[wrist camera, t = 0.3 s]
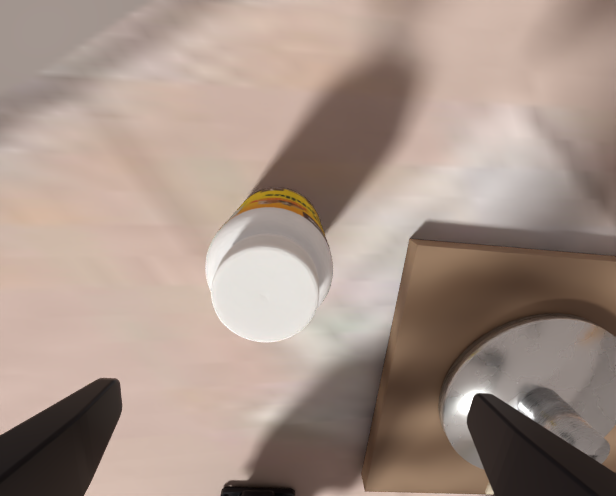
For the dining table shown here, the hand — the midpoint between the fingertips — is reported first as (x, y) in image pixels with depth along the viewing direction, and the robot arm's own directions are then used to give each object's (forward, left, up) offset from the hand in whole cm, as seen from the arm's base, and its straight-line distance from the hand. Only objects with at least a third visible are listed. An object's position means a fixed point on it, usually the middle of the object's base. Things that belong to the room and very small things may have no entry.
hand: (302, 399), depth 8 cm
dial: (-12, -19, -12) cm, 25 cm away
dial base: (-10, -19, -14) cm, 26 cm away
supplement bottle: (+1, +1, -14) cm, 14 cm away
